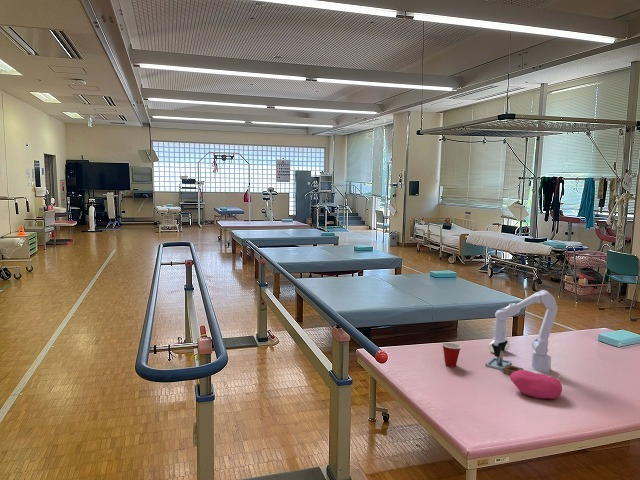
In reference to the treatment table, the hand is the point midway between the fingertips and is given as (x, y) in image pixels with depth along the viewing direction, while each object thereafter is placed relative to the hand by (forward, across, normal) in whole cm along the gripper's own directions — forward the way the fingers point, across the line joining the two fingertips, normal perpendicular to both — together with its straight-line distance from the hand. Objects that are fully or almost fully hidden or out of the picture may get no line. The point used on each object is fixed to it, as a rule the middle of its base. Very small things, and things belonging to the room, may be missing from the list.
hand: (499, 354), depth 263 cm
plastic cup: (+6, +17, -21) cm, 28 cm away
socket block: (+6, +7, +10) cm, 14 cm away
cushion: (+7, +25, +26) cm, 37 cm away
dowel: (+6, 0, 0) cm, 6 cm away
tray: (+6, 0, 0) cm, 6 cm away
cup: (+3, -18, -10) cm, 20 cm away
